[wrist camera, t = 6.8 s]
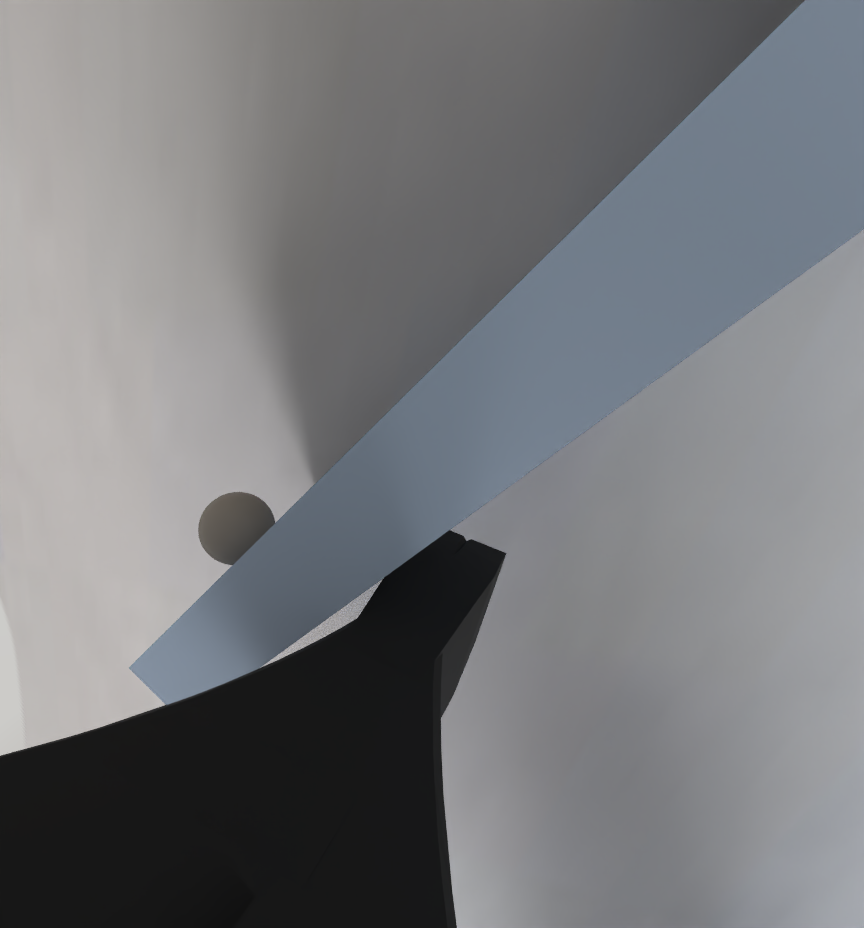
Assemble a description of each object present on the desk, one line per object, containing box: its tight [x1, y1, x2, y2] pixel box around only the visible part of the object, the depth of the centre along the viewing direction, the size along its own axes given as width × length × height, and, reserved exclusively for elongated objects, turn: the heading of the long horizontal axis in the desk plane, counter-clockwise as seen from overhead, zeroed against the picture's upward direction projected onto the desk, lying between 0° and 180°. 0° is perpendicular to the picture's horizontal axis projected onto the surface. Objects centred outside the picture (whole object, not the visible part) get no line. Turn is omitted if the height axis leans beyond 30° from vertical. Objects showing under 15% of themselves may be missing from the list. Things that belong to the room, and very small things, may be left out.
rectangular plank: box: [129, 0, 864, 705], centre depth 7 cm, size 12×2×5 cm, turn 136°
